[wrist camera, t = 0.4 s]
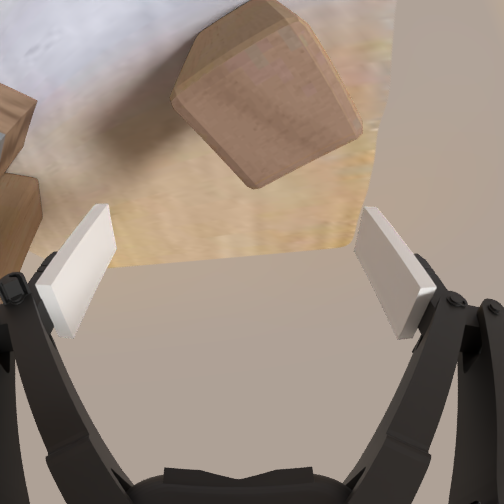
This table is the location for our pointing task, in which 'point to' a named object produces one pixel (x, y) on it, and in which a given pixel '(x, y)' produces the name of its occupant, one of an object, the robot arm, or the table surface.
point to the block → (17, 220)
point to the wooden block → (264, 93)
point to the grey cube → (1, 142)
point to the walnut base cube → (13, 122)
